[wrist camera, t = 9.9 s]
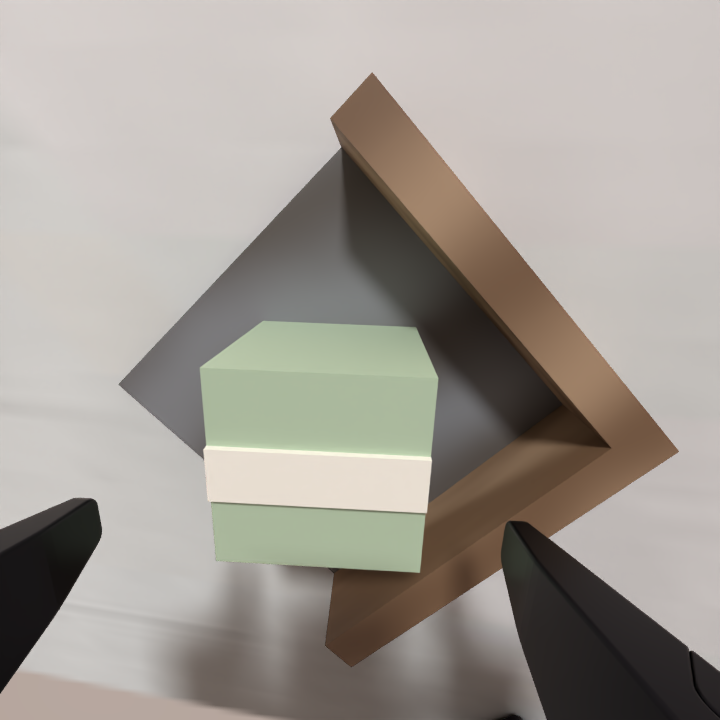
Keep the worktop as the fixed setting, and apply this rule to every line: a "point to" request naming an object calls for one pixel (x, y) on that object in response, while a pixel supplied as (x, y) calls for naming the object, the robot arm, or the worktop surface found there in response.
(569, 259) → the worktop surface
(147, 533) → the worktop surface
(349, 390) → the cube
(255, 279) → the corner arena
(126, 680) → the worktop surface
